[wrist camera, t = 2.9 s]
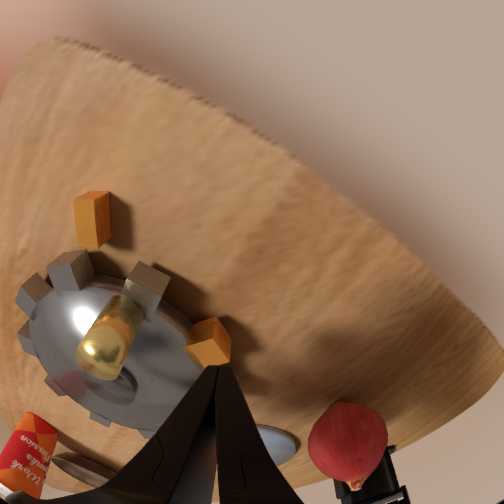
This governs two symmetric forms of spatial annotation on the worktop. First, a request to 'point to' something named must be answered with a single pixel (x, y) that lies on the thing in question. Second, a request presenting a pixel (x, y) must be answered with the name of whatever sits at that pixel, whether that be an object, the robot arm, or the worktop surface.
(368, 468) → the onion
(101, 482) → the saucer
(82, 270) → the sprocket
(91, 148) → the worktop surface
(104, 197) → the wooden toy brick
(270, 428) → the coaster
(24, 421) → the paper cup
